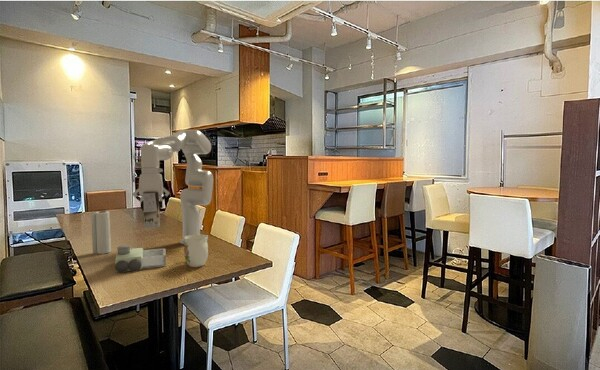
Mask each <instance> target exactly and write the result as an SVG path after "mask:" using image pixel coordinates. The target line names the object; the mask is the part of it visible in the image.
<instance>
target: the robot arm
mask: <svg viewBox="0 0 600 370" xmlns="http://www.w3.org/2000/svg"><path fill="white" fill-rule="evenodd" d="M181 150H182V152H183V154H184V157H185V159H186V170H185V179H184V182H185V185H186V186H188V187H190V188H188V187H187V188H185V189H182V190H181V191H180V193H179V198H180V203H181V212H182V214H181V216H182V218H181V219H182V239H180V241H179V244H180V245H184V246H185V239H184V237H186V236H189V235H196V234H201V228H200V227H201V224H200V223H201V219H200V217H201V215H200V210H199V208H198V206H208V205H210V204H211V201H212V197H213V190H214V189H213V188H214V176H213V175H214V174H213V172H211V171H210V170H203V161H202V160H201V158H200V156H199V155H208V154H210V153H211V150H212V143H211V141H210V140H209V138H208V137H207V136H205V134H204V133H203V132H201V130H198V129H181V130H178V131H177V132H174V133H173V134H171V135H169V136H164V137H160V138H156V139H153V140H150V141H148V142H146V143H144V144H141V146H140V159H141V161H140V162H141V165H140V167H141V174H140V173H139V174H140V175H139V179H138V180H139V181H138V188H137V189H136V190H135V191H134V192H132V196H133V197H134V198H135V199H136V200H137V201H138V202H139V203H140V209H141V210H142V212H144V204H143V193H145V192H158V193H159V210H160V211H161V210H162V209H163V202H164V200H165V199H166V198H168V196H169V195H170V194H171V193H170V191H169V190H168V189H166V187H164V182H163V175H162V174H161V172H164V170H163V168H160V161H168V160H169V159H172V157H173V154H174V153H175V152H178V151H181ZM191 187H195V188H191ZM196 187H200V188H196ZM164 193H165V194H164ZM138 194H139V195H138ZM163 194H164V195H163ZM206 235H207V236H208V237H209V235H208V234H206Z"/></svg>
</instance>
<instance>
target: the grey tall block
mask: <svg viewBox="0 0 600 370" xmlns="http://www.w3.org/2000/svg"><path fill="white" fill-rule="evenodd" d="M90 219H91V220H90V221H91V239H92V254H96V253H97V254H98V255H104V254H109V253H111V252H112V249H111V248H112V244H111V243H112V242H111V241H112V240H111V220H110V219H111V218H110V211H108V210H107V211H105V210H103V211H94V212H90Z"/></svg>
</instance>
